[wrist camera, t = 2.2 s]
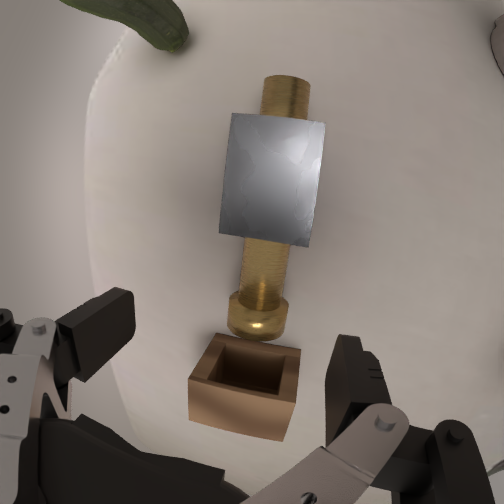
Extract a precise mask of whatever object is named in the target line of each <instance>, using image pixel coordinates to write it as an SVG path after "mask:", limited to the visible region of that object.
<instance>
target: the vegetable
mask: <svg viewBox="0 0 504 504" xmlns="http://www.w3.org/2000/svg"><path fill="white" fill-rule="evenodd" d="M60 1H61V2H63V3H65V4H67V5H69V6H71V7H74V8H76V9H78V10H81V11H84V12H87V13H91V14H93V15H96V16H99V17H102V18H106V19H110V20H114V21H118V22H120V23H123V24H125V25H126V26H128V27H130V28H132V29H133V30H135V31H136V32H137V33H138V34H139V35H140V36H142V37H143V38H144V39H145V40H147V41H148V42H149V43H150V44H152V45H153V46H154V47H155V48H157V49H160V50H165V51H169V50H170V52H172V53H173V52H174V51H175V50H176V49H178V48H179V47H180V46H181V45H183V43H184V42H185V40H186V38H187V37H188V34H189V30H188V27H187V24H186V21H185V19H184V16H183V14H182V12H181V10H180V9H179V7H178V6H177V5H176V4H175V3H174V2H173V1H172V0H60Z"/></svg>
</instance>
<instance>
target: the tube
mask: <svg viewBox="0 0 504 504" xmlns="http://www.w3.org/2000/svg"><path fill="white" fill-rule="evenodd" d="M309 96H310V84H309V83H308V82H307V81H305V80H303V79H300V78H297V77H292V76H285V75H275V76H269V77H267V78H265V79H264V86H263V94H262V102H261V110H260V115H266V116H277V117H286V118H295V119H303V120H307V115H308V105H309ZM289 250H290V244H284V243H278V242H272V241H266V240H260V239H253V238H247V237H245V242H244V250H243V259H242V268H241V277H240V286H239V291H237V292H235V293H233V294H232V295H231V296H230V298H229V308H228V318H227V326H228V328H229V330H230V331H231V332H232V333H233V334H235V335H237V336H239V337H241V338H243V339H247V340H251V341H270V340H274V339H277V338H279V337H280V336H281V335H282V334H283V332H284V328H285V323H286V318H287V313H288V307H289V304H288V302H287V301H286V300H285V299H284V298H283V297H282V292H283V286H284V280H285V274H286V268H287V262H288V256H289Z"/></svg>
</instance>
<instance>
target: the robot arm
mask: <svg viewBox="0 0 504 504" xmlns="http://www.w3.org/2000/svg"><path fill="white" fill-rule="evenodd" d="M495 24H496V28H495V29H494V30H493V31H492V34H491V45H492V50H493V53H494V56H495V58H496V61H497V63H498V65H499V67H500V69H501V71H502V73H503V74H504V14H503V15H502V16H501V17H500V18H498V19H497V20H496V21H495ZM135 329H136V322H135V307H134V295H133V293H132V292H131V291H128V290H124V289H121V288H117V287H114V288H112V289H110V290H109V291H107V292H105V293H104V294H102V295H100V296H99V297H95V298H92V299H90V300H89V301H87V302H85V303H84V304H83V305H80V306H79V307H77V309H74V310H72V311H71V312H69V313H67V314H66V315H64V316H62V317H61V318H59V319H57V320H56V321H53V320H51V319H49V318H35V319H32V320H30V321H28V322H27V323H25V324H24V325H19V324H15V323H14V319H13V315H12V313H11V311H10V310H8V309H0V504H354V503H355V502H356V501H357V500H358V499H359V497H360V496H361V495H362V494H363V493H364V492H365V490H366V489H367V488H368V487H369V486H372V487H376V488H380V489H385V490H389V491H391V496H392V504H495V501H494V497H493V493H492V489H491V486H490V482H489V479H488V476H487V472H486V469H485V466H484V463H483V460H482V457H481V454H480V452H479V449H478V446H477V443H476V441H475V438H474V436H473V433H472V431H471V430H470V429H469V428H468V426H466V425H465V424H463V423H462V422H460V421H457V420H444V421H442V422H440V423H439V424H438V425H437V426H436V428H435V429H434V431H432V430H427V429H423V428H418V427H414V426H411V425H409V420H408V418H407V416H406V414H405V413H404V412H403V411H402V410H400V409H399V408H397V407H395V406H393V405H392V402H391V399H390V395H389V392H388V389H387V385H386V382H385V379H384V376H383V372H382V371H381V370H382V369H381V366H380V363H379V360H378V359H377V358H376V357H375V356H374V355H373V354H372V353H371V352H370V351H363V348H362V344H361V340H360V337H357V336H349V335H342V334H339V335H338V337H337V340H336V343H335V346H334V350H333V353H332V356H331V359H330V363H329V366H328V369H327V373H326V378H325V409H326V448H324V447H323V446H320V447H318V448H317V449H315V450H314V451H313V452H311V453H310V454H309V455H308V456H307V457H305V458H304V459H303V460H302V461H300V462H299V463H298V464H296V465H295V466H294V467H293V468H291V469H290V470H289V471H287V472H286V473H285V474H283V475H282V476H280V477H279V478H278V479H276V480H275V481H273V482H272V483H271V484H269V485H268V486H266V487H265V488H263V489H262V490H260V491H259V492H257V493H256V494H254V495H253V496H251V497H250V496H249V495H247V494H246V493H245V492H243V491H242V490H241V489H239V488H237V487H236V486H234V485H232V484H230V483H228V482H226V481H224V475H225V470H223V469H219V468H215V467H211V466H208V465H204V464H201V463H197V462H194V461H191V460H187V459H184V458H177V457H170V456H163V455H157V454H151V453H145V452H141V451H139V450H138V449H136V448H135V447H133V446H132V445H131V444H129V443H128V442H127V441H125V440H124V439H123V438H122V437H120V436H119V435H118V434H116V433H115V432H114V431H113V430H112V429H110V428H108V427H106V426H104V425H102V424H100V423H98V422H96V421H95V420H93V419H91V418H89V417H87V416H85V415H84V414H81V415H80V416H79V417H78V418H77V419H76V420H75V421H73V420H71V402H72V383H71V380H70V379H71V378H73V377H75V378H77V379H79V380H80V381H82V382H84V383H85V382H86V381H87V380H88V379H89V378H90V377H92V375H94V374H95V373H96V372H97V371H98V370H99V369H100V368H101V367H102V366H103V365H104V364H105V363H106V362H107V361H109V360H110V359H111V358H112V357H113V356H114V355H115V354H116V353H117V352H118V351H119V350H120V349H121V348H122V347H123V346H125V345H126V344H127V343H128V342H129V341H130V340H131V339H132V337H133V336H134V333H135Z"/></svg>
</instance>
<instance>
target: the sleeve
mask: <svg viewBox="0 0 504 504" xmlns="http://www.w3.org/2000/svg"><path fill="white" fill-rule="evenodd" d="M325 124H326V123H323V122H317V121H310V120H303V119H295V118H286V117H277V116H266V115H254V114H239V113H232V119H231V127H230V134H229V142H228V150H227V159H226V167H225V176H224V185H223V194H222V204H221V214H220V224H219V233H222V234H228V235H235V236H241V237H247V238H253V239H260V240H266V241H272V242H278V243H284V244H290V245H296V246H302V247H309V241H310V235H311V229H312V222H313V216H314V210H315V203H316V196H317V189H318V182H319V174H320V167H321V159H322V151H323V142H324V134H325Z"/></svg>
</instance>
